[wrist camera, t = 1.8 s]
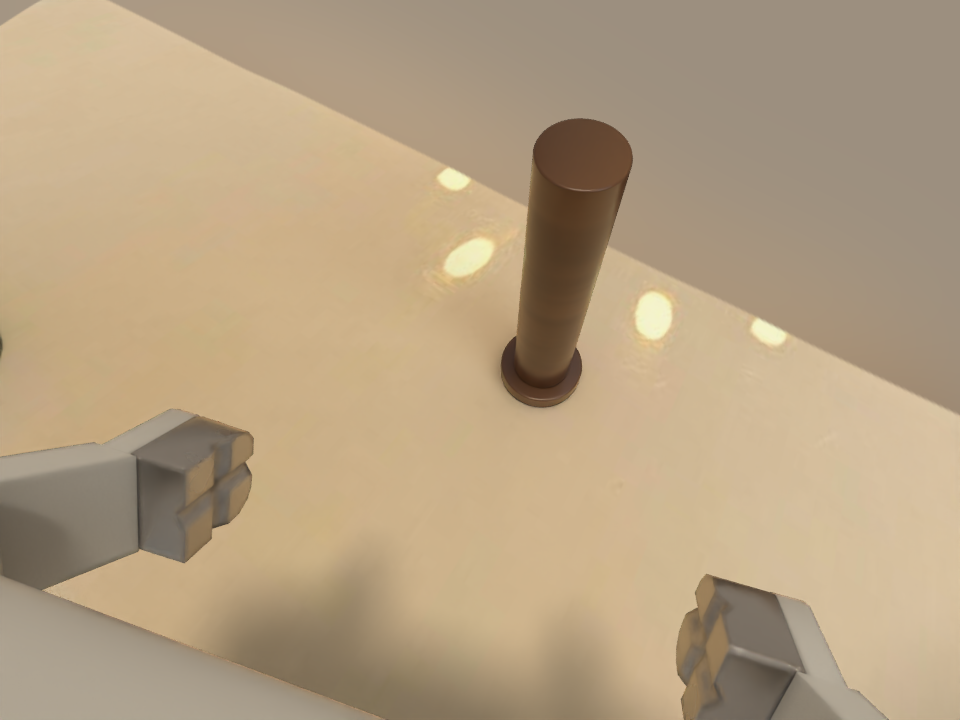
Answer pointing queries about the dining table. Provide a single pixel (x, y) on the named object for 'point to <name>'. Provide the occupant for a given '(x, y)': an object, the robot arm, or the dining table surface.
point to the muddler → (563, 253)
